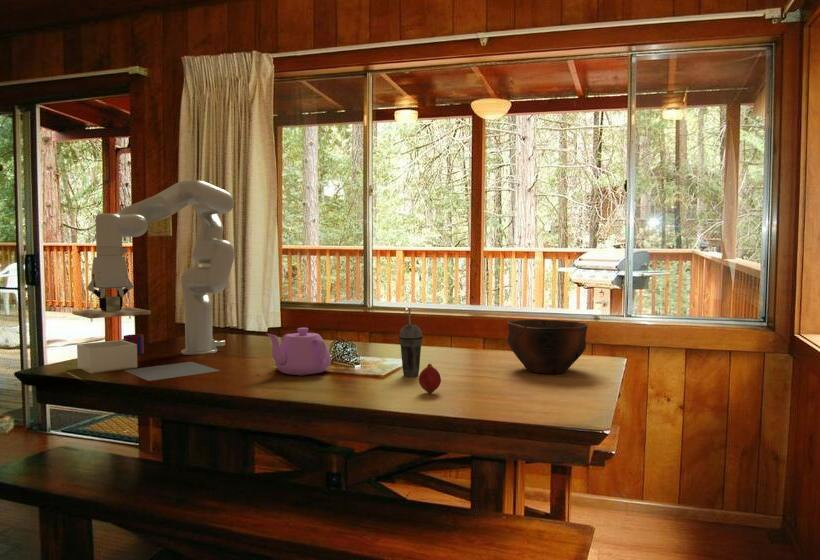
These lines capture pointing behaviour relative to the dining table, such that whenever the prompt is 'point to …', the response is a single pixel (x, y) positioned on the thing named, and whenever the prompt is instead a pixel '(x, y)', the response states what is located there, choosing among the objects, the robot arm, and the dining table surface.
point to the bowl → (547, 343)
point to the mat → (170, 371)
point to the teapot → (300, 353)
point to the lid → (111, 310)
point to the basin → (107, 356)
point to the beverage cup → (410, 348)
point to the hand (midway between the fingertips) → (111, 309)
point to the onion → (429, 379)
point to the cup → (136, 342)
